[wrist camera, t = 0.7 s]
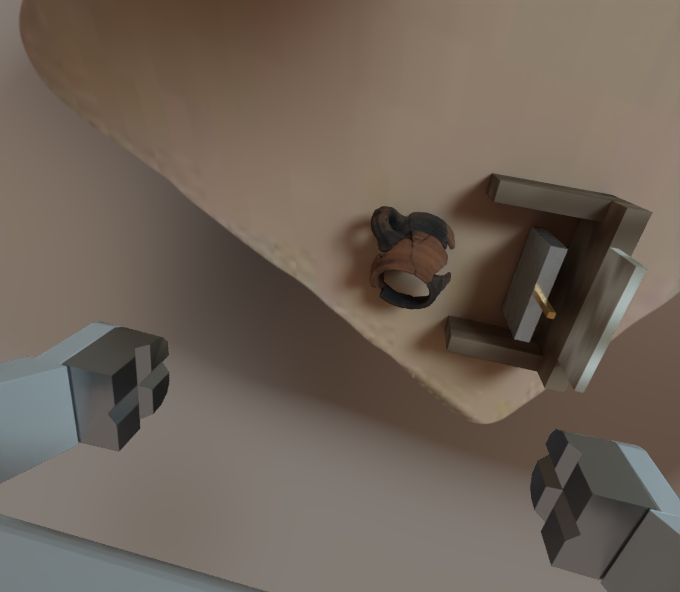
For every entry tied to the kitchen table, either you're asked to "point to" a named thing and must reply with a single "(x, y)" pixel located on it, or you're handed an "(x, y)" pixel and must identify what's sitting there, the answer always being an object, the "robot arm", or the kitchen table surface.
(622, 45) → the kitchen table surface
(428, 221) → the pottery mug
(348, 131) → the kitchen table surface
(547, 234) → the grey flat panel
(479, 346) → the stand
